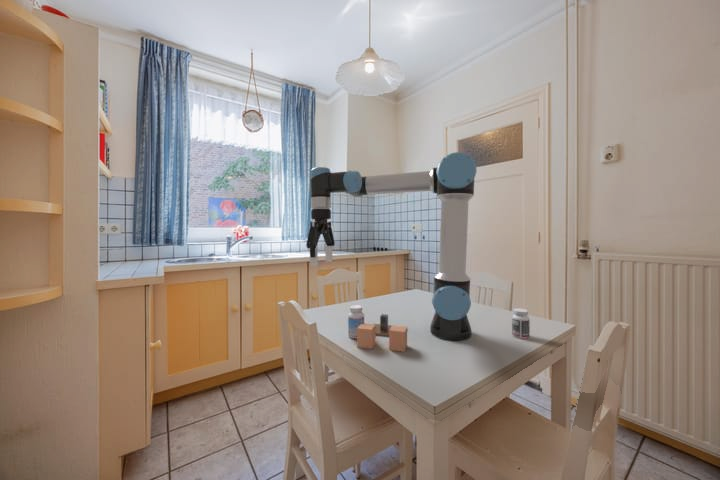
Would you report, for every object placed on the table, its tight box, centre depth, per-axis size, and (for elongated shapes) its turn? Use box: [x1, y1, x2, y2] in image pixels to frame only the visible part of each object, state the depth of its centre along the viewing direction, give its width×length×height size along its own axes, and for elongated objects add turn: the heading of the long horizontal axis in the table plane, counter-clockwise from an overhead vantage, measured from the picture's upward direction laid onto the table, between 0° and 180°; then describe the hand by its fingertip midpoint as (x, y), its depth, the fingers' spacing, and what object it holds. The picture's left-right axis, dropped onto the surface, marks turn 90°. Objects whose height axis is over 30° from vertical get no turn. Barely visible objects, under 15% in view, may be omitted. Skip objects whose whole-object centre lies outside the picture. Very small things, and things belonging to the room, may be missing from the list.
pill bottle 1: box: [347, 304, 365, 340], centre depth 109 cm, size 6×6×11 cm
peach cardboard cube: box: [356, 323, 377, 350], centre depth 100 cm, size 5×5×7 cm
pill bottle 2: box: [511, 307, 531, 340], centre depth 107 cm, size 6×6×10 cm
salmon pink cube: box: [388, 324, 408, 352], centre depth 98 cm, size 5×5×7 cm
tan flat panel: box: [372, 313, 392, 337], centre depth 114 cm, size 14×10×6 cm
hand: (321, 264), depth 111 cm, fingers open, 13 cm apart
